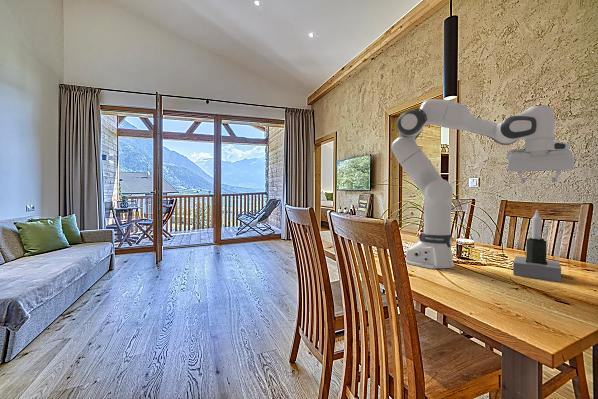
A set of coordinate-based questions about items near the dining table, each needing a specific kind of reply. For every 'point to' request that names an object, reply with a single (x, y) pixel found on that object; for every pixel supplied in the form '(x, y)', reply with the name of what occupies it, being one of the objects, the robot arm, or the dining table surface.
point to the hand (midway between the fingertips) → (538, 182)
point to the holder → (537, 269)
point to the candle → (536, 243)
